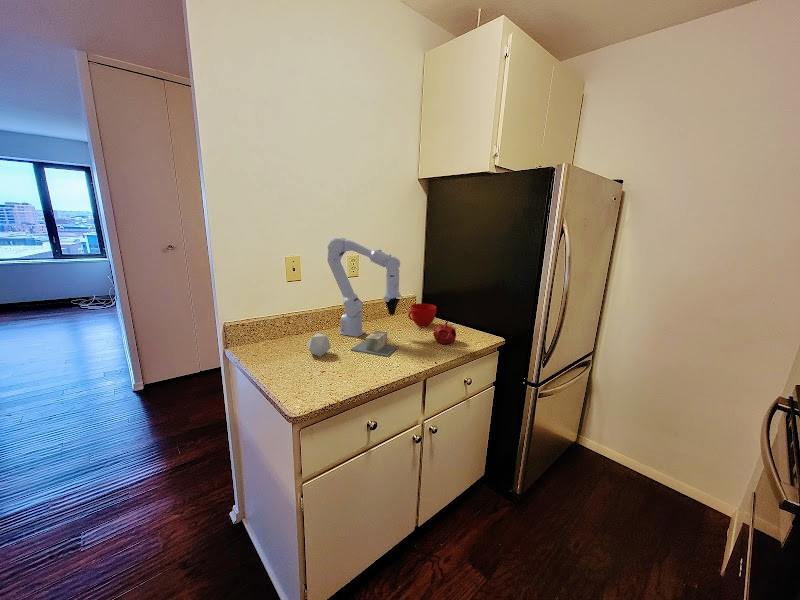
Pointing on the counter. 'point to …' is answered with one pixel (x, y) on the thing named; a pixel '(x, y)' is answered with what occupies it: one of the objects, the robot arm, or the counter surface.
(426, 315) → the ceramic cup
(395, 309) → the robot arm
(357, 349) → the mat
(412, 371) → the counter surface
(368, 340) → the block
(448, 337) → the pomegranate
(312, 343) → the die
